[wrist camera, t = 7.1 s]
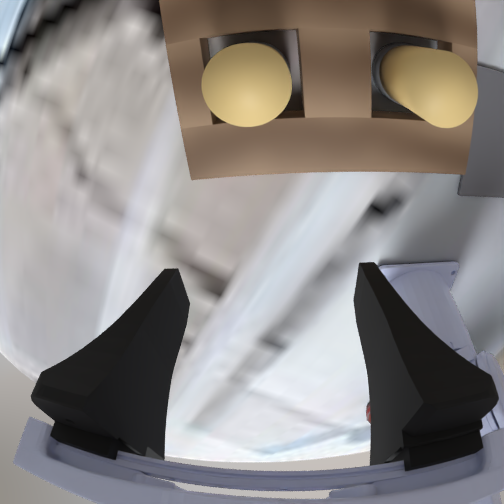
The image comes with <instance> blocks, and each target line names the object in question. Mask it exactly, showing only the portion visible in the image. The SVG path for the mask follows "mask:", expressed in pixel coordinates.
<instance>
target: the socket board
mask: <svg viewBox="0 0 504 504" xmlns="http://www.w3.org/2000/svg"><path fill="white" fill-rule="evenodd" d="M159 2H160V9H161V16H162V23H163V29H164V36H165V42H166V48H167V54H168V60H169V66H170V72H171V78H172V83H173V89H174V95H175V100H176V105H177V111H178V116H179V121H180V126H181V132H182V137H183V142H184V147H185V152H186V157H187V161H188V166H189V171H190V176H191V180H198V179H209V178H221V177H233V176H247V175H263V174H282V173H307V172H420V173H443V174H461V175H465V174H466V168H467V163H468V157H469V150H470V144H471V137H472V129H473V120H474V111H475V109H474V111H473V113H472V115H471V116H470V117H469V118H468V119H467V120H466V121H465V122H464V123H462V124H461V125H459V126H456V127H453V128H440V127H437V126H434V125H432V124H430V123H429V122H427V121H426V120H424V119H423V118H421V117H420V116H418V115H417V114H415V113H406V112H392V111H372V110H371V52H370V33H369V31H370V32H381V33H390V34H398V35H406V36H412V37H419V38H424V39H430V40H435V41H437V45H438V50H444V51H449V52H452V53H454V54H456V55H458V56H460V57H461V58H462V59H463V60H464V61H465V62H466V63H467V64H468V65H469V66H470V68H471V69H472V71H473V73H474V75H475V78H476V81H477V22H476V7H475V0H159ZM277 30H296V32H297V43H298V54H299V66H300V79H301V93H302V108H303V110H296V111H282V112H281V113H280V114H279V115H278V116H277V117H276V118H274V119H273V120H271V121H269V122H268V123H265V124H263V125H259V126H254V127H240V126H235V125H232V124H229V123H227V122H225V121H223V120H221V119H220V118H218V117H217V116H216V115H215V114H214V113H213V112H212V111H211V110H210V109H209V107H208V106H207V104H206V102H205V100H204V97H203V93H202V86H201V85H202V76H203V73H204V70H205V68H206V66H207V64H208V62H209V61H210V54H209V47H208V40H207V38H212V37H219V36H226V35H233V34H242V33H251V32H262V31H277Z"/></svg>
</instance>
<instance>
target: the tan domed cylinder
mask: <svg viewBox="0 0 504 504" xmlns="http://www.w3.org/2000/svg"><path fill="white" fill-rule="evenodd" d="M201 86H202V93H203V97H204V100H205V102H206V104H207V106H208V107H209V109H210V110H211V111H212V112H213V113H214V114H215V115H216V116H217V117H218V118H220V119H221V120H223V121H225V122H227V123H229V124H232V125H235V126H240V127H254V126H259V125H263V124H265V123H268V122H269V121H271V120H273V119H274V118H276V117H277V116H278V115H279V114H280V113H281V112H282V111H283V110H284V109H285V107H286V105H287V104H288V101H289V99H290V96H291V91H292V80H291V75H290V67H289V64H288V62H287V60H286V58H285V56H284V55H283V54H282V52H281V51H279V50H278V49H277V48H276V47H274V46H272V45H270V44H267V43H264V42H256V41H253V42H245V43H240V44H235V45H231V46H229V47H226V48H224V49H222V50H221V51H219V52H218V53H217V54H216V55H214V56H213V57H212V59H211V60H210V61H209V62H208V64H207V66H206V68H205V70H204V73H203V76H202V85H201Z"/></svg>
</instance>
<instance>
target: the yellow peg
mask: <svg viewBox="0 0 504 504" xmlns="http://www.w3.org/2000/svg"><path fill="white" fill-rule="evenodd" d="M372 76H373V80H374V82H375V84H376V86H377V88H378V89H379V91H380V92H381V93H382V94H383V95H384V96H386V97H387V98H389V99H390V100H392V101H393V102H395V103H397V104H399V105H402V106H404V107H406V108H408V109H409V110H411V111H412V112H414V113H415V114H417V115H418V116H420V117H421V118H423V119H424V120H426V121H427V122H429V123H430V124H432V125H434V126H437V127H440V128H453V127H456V126H459V125H461V124H462V123H464V122H465V121H466V120H467V119H468V118H469V117H470V116H471V115H472V113H473V111H474V109H475V107H476V104H477V99H478V86H477V81H476V78H475V75H474V73H473V71H472V69H471V68H470V66H469V65H468V64H467V63H466V62H465V61H464V60H463V59H462V58H461V57H460V56H458V55H456V54H454V53H452V52H449V51H444V50H438V49H432V48H425V47H417V46H415V45H412V44H405V43H392V44H389V45H387V46H385V47H383V48H382V49H381V50H379V52H378V53H377V54H376V56H375V58H374V60H373V64H372Z"/></svg>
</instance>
